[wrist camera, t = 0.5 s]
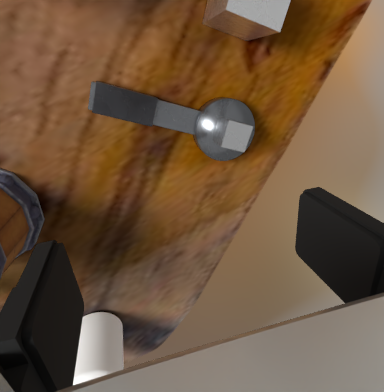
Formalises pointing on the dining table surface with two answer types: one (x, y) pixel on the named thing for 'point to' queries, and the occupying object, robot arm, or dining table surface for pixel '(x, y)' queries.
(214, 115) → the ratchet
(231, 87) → the dining table surface
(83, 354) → the beverage can
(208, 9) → the brushed metal cube
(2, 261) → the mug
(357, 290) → the robot arm
